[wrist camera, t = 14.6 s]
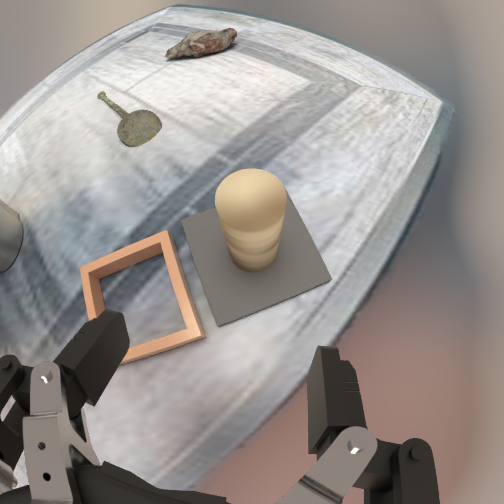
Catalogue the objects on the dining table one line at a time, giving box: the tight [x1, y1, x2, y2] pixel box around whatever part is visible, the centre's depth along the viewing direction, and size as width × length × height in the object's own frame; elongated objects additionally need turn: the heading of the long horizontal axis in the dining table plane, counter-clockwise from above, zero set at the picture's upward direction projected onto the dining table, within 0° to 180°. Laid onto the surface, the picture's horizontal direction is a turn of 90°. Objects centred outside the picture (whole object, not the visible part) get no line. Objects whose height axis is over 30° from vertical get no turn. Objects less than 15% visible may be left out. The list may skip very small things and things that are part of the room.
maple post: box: [215, 169, 287, 272], centre depth 23 cm, size 5×5×10 cm
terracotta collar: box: [80, 230, 206, 365], centre depth 25 cm, size 11×11×2 cm
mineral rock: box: [165, 28, 237, 58], centre depth 42 cm, size 15×8×4 cm, turn 92°
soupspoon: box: [97, 91, 162, 147], centre depth 37 cm, size 22×3×7 cm
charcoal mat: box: [181, 189, 332, 327], centre depth 28 cm, size 12×12×1 cm
